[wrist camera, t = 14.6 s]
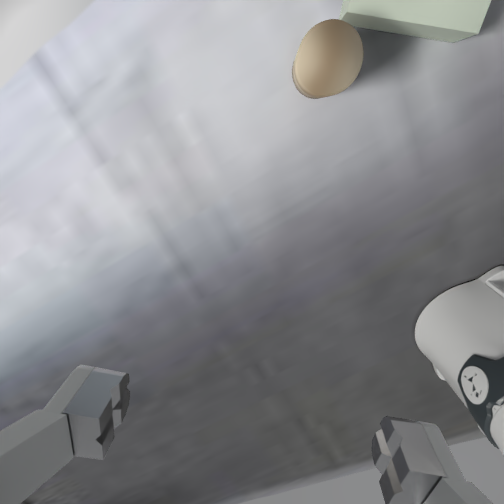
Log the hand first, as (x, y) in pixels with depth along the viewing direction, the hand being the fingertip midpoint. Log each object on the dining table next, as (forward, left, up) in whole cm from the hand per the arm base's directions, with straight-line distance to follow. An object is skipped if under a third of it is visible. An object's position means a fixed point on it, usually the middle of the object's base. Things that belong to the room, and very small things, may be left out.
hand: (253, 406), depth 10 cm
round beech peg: (-3, -12, -29) cm, 32 cm away
